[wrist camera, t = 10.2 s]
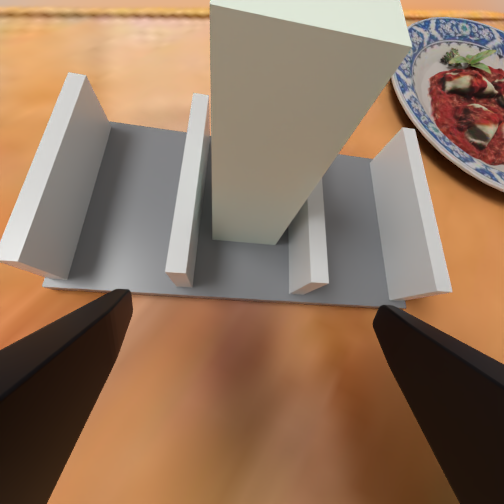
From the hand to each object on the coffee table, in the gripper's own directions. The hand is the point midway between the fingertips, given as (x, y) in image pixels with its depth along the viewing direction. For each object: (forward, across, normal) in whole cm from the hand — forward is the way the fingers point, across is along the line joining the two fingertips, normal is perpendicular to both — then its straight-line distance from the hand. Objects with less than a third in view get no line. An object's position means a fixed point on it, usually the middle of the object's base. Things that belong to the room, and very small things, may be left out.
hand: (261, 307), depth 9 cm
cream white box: (+11, 0, 0) cm, 11 cm away
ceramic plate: (+24, -27, -11) cm, 37 cm away
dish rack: (+12, 0, 0) cm, 12 cm away
